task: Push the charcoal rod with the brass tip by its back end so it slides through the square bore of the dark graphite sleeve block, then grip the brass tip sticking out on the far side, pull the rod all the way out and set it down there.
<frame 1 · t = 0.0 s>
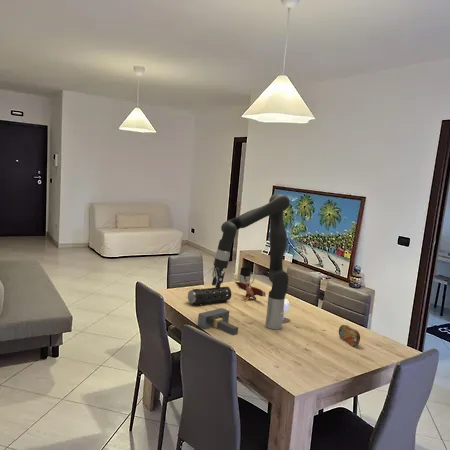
hand: (215, 287, 222), 22 cm above the table, tool pointing down, fingers open, 8 cm apart
tin: (348, 342, 220), on the table
decorative bird: (248, 300, 279), on the table
plug rod: (224, 329, 222), on the table
sleeve block: (213, 324, 229), on the table
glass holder: (246, 289, 307), on the table
muzzle brake: (209, 303, 265), on the table
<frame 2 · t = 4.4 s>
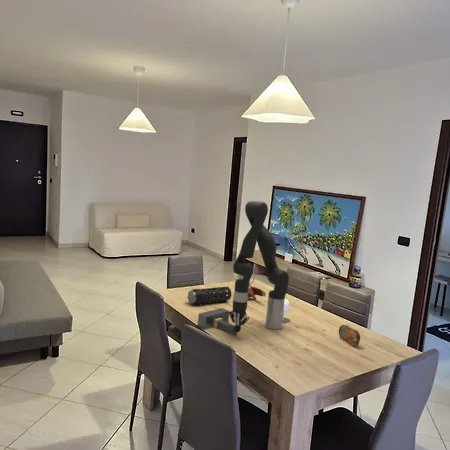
hand: (237, 331, 216), 2 cm above the table, tool pointing down, fingers closed
plug rod: (224, 329, 223), on the table, touching gripper
everything else where it was.
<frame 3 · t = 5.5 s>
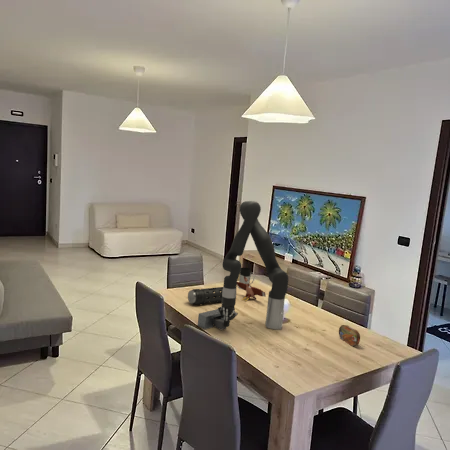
hand: (226, 326, 221), 2 cm above the table, tool pointing down, fingers closed
plug rod: (214, 324, 229), on the table, touching gripper
everything else where it was.
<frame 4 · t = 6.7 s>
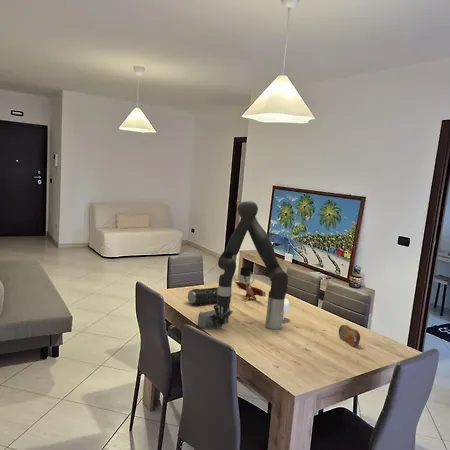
hand: (221, 324, 224), 2 cm above the table, tool pointing down, fingers closed
plug rod: (210, 322, 231), on the table, touching gripper
everything else where it was.
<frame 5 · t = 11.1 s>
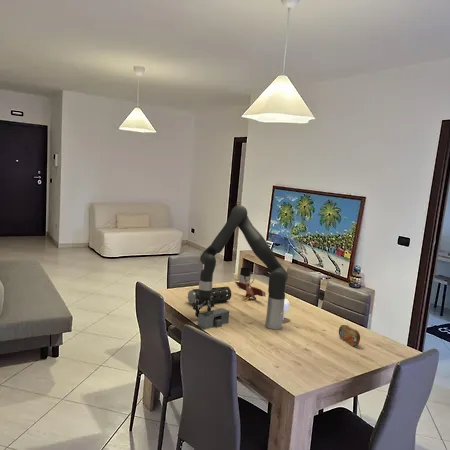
hand: (202, 315, 235), 2 cm above the table, tool pointing down, fingers open, 8 cm apart
plug rod: (210, 322, 232), on the table
everything else where it was.
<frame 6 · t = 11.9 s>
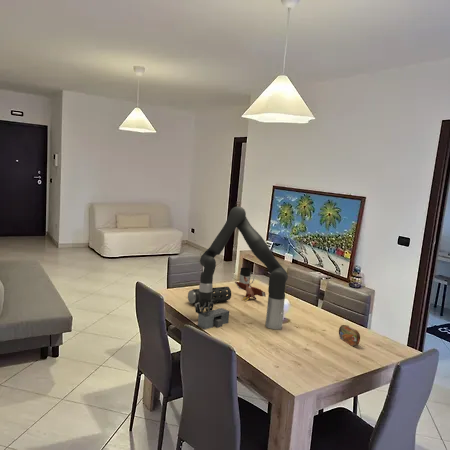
hand: (203, 318, 235), 0 cm above the table, tool pointing down, fingers closed on plug rod, 4 cm apart
plug rod: (210, 322, 231), on the table, touching gripper
everything else where it was.
when the fingers open (2 cm above the table, at t = 18.0 s): plug rod drops 1 cm, on the table.
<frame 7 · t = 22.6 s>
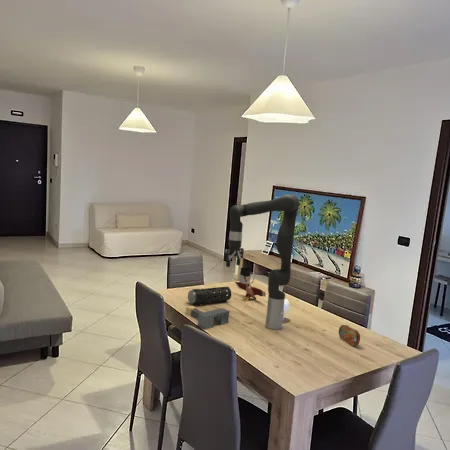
hand: (232, 266, 242), 30 cm above the table, tool pointing down, fingers open, 8 cm apart
plug rod: (197, 317, 238), on the table
everything else where it was.
at the end: plug rod inside the target area on the table beside the sleeve block (1.2 cm from its centre), on the table; plug rod touching table; the gripper is holding nothing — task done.
